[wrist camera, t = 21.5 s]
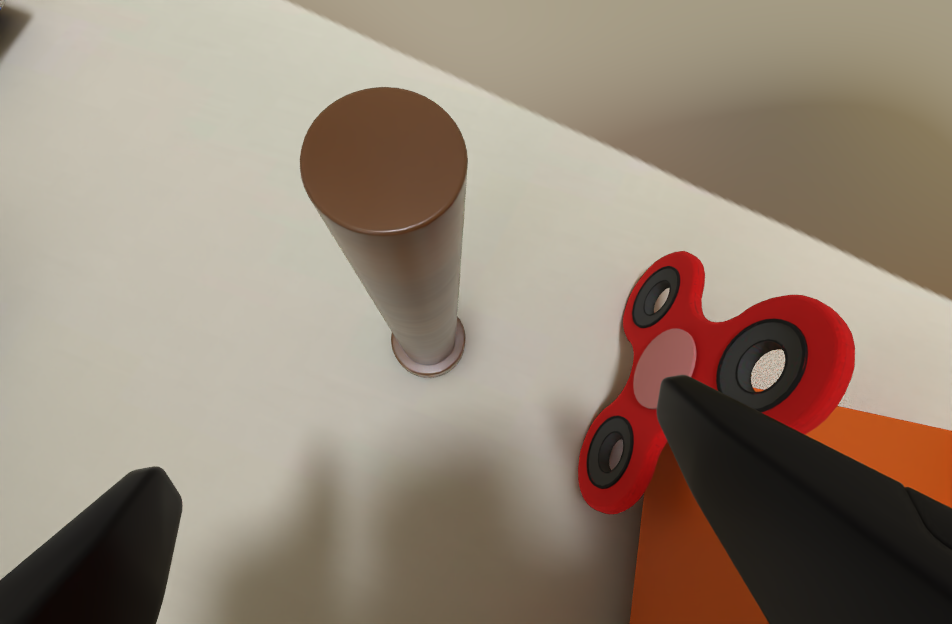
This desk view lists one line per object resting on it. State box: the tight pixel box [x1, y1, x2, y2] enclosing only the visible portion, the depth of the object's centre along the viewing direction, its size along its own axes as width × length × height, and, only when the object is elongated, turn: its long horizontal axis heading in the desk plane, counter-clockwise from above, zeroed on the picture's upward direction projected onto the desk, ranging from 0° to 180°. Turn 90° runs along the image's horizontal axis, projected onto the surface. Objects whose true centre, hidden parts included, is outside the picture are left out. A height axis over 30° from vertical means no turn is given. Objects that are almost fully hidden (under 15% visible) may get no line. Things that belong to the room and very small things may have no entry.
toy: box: [578, 251, 855, 514], centre depth 15 cm, size 10×10×1 cm
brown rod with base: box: [300, 87, 468, 378], centre depth 13 cm, size 3×3×14 cm
